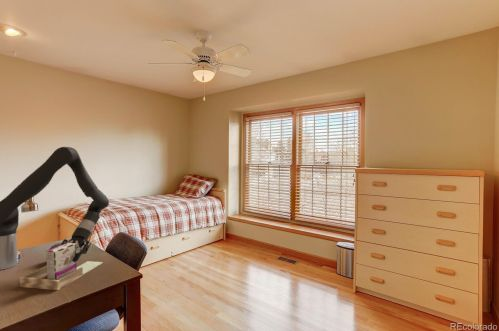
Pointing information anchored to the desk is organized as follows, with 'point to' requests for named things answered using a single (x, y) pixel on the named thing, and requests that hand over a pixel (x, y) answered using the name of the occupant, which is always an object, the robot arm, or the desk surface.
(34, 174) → the robot arm
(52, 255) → the candy bar box
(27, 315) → the desk surface
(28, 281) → the lane rack
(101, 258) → the desk surface
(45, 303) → the desk surface
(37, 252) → the desk surface
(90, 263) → the sage mat
